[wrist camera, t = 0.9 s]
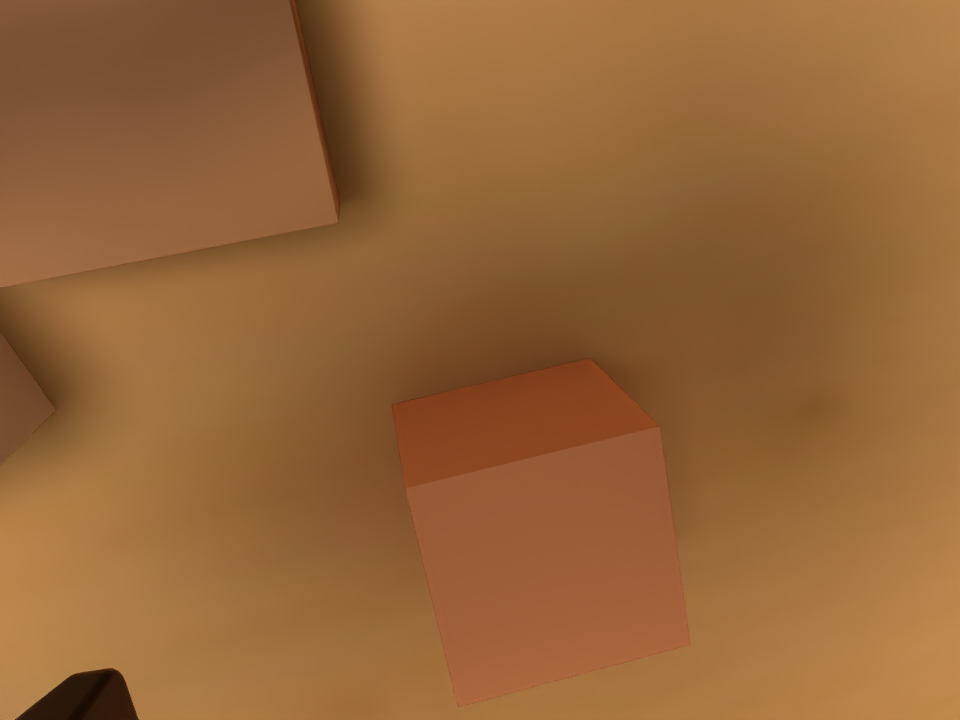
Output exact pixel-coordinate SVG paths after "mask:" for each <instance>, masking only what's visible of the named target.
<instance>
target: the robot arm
mask: <svg viewBox="0 0 960 720" xmlns="http://www.w3.org/2000/svg"><path fill="white" fill-rule="evenodd" d="M15 720H138V717H137V714H136V711H135V708H134V705H133V702H132V699H131V696H130V694H129V691H128V688H127V685H126V682H125V680H124V678H123V676H122V675H121V673H120V672H119V671H117V670H115V669H113V668H108V669H101V670H95V671H88V672H81V673H76V674H74V675H71V676H70V677H68V678H67V679H66V680H64V681H63V682H62V683H61V684H59V685H58V686H57V687H56V688H54V689H53V690H52V691H51V692H49V693H48V694H47V695H45V696H44V697H43V698H42V699H40V700H39V701H38V702H37V703H35V704H34V705H33V706H32V707H30V708H29V709H28V710H26V711H25V712H24V713H23V714H21V715H20V716H19V717H18V718H16V719H15Z"/></svg>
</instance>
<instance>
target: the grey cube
mask: <svg viewBox="0 0 960 720" xmlns="http://www.w3.org/2000/svg"><path fill="white" fill-rule="evenodd" d="M55 410H56V409H55V408H54V406H53V405H52V404H51V402H50V401H49V399H48V398H47V397H46V395H45V394H44V392H43V391H42V390H41V388H40V387H39V385H38V384H37V382H36V381H35V380H34V378H33V377H32V375H31V374H30V373H29V371H28V370H27V368H26V367H25V366H24V364H23V363H22V361H21V360H20V359H19V357H18V356H17V354H16V353H15V351H14V350H13V349H12V347H11V346H10V344H9V343H8V342H7V340H6V339H5V337H4V336H3V335H2V333H1V332H0V464H1V463H2V462H3V461H4V460H5V459H6V458H7V457H8V456H9V455H10V454H11V453H12V452H13V451H14V450H15V449H16V448H17V447H18V446H19V445H20V444H21V443H22V442H23V441H24V440H25V439H27V438H28V437H29V436H30V435H31V434H32V433H33V432H34V431H35V430H36V429H37V428H38V427H39V426H40V425H41V424H42V423H43V422H44V421H45V420H46V419H47V418H48V417H49V416H50V415H51V414H52V413H53V412H54V411H55Z"/></svg>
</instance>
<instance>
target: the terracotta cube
mask: <svg viewBox="0 0 960 720" xmlns="http://www.w3.org/2000/svg"><path fill="white" fill-rule="evenodd" d="M392 409H393V415H394V422H395V428H396V434H397V441H398V447H399V453H400V459H401V466H402V472H403V478H404V485H405V490H406V494H407V498H408V502H409V507H410V511H411V515H412V519H413V523H414V527H415V531H416V535H417V540H418V544H419V548H420V552H421V556H422V560H423V564H424V568H425V573H426V577H427V581H428V585H429V589H430V593H431V597H432V601H433V606H434V610H435V614H436V618H437V622H438V626H439V630H440V634H441V639H442V643H443V647H444V651H445V655H446V659H447V663H448V667H449V672H450V676H451V680H452V684H453V688H454V692H455V696H456V700H457V705H458V707H461V706H465V705H468V704H472V703H476V702H479V701H483V700H487V699H491V698H494V697H498V696H502V695H505V694H509V693H513V692H517V691H520V690H524V689H528V688H532V687H535V686H539V685H543V684H546V683H550V682H554V681H558V680H561V679H565V678H569V677H572V676H576V675H580V674H584V673H587V672H591V671H595V670H599V669H602V668H606V667H610V666H613V665H617V664H621V663H625V662H628V661H632V660H636V659H639V658H643V657H647V656H651V655H654V654H658V653H662V652H666V651H669V650H673V649H677V648H680V647H684V646H688V645H691V644H690V637H689V630H688V623H687V616H686V609H685V602H684V595H683V587H682V580H681V573H680V566H679V559H678V552H677V545H676V538H675V531H674V524H673V516H672V509H671V502H670V495H669V488H668V481H667V474H666V467H665V460H664V452H663V445H662V438H661V431H660V426H659V425H658V424H657V423H656V422H655V421H654V420H653V419H652V418H651V417H650V416H649V415H648V414H647V413H646V412H645V411H644V410H643V409H642V408H641V407H639V406H638V405H637V404H636V403H635V402H634V401H633V400H632V399H631V398H630V397H629V396H628V395H627V394H626V393H625V392H624V391H623V390H622V389H621V388H620V387H619V386H618V385H617V384H616V383H615V382H614V381H613V380H612V379H611V378H610V377H609V376H608V375H607V374H606V373H605V372H604V371H603V370H602V369H601V368H600V367H598V366H597V365H596V364H595V363H594V362H593V361H592V360H591V359H590V358H589V359H585V360H581V361H576V362H572V363H568V364H563V365H559V366H555V367H551V368H546V369H542V370H538V371H534V372H529V373H525V374H521V375H517V376H512V377H508V378H504V379H500V380H495V381H491V382H487V383H482V384H478V385H474V386H470V387H465V388H461V389H457V390H453V391H448V392H444V393H440V394H436V395H431V396H427V397H423V398H418V399H414V400H410V401H406V402H401V403H397V404H393V405H392Z"/></svg>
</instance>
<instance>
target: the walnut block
mask: <svg viewBox="0 0 960 720" xmlns="http://www.w3.org/2000/svg"><path fill="white" fill-rule="evenodd" d="M339 211H340V201H339V196H338V192H337V187H336V182H335V178H334V173H333V169H332V164H331V160H330V155H329V150H328V146H327V141H326V137H325V132H324V128H323V123H322V119H321V114H320V109H319V105H318V100H317V96H316V91H315V87H314V82H313V78H312V73H311V68H310V64H309V59H308V55H307V50H306V46H305V41H304V36H303V32H302V27H301V23H300V18H299V14H298V9H297V5H296V0H0V288H2V287H7V286H12V285H17V284H22V283H28V282H33V281H38V280H43V279H49V278H54V277H59V276H64V275H69V274H75V273H80V272H85V271H90V270H95V269H101V268H106V267H111V266H116V265H121V264H127V263H132V262H137V261H142V260H147V259H153V258H158V257H163V256H168V255H174V254H179V253H184V252H189V251H194V250H200V249H205V248H210V247H215V246H220V245H226V244H231V243H236V242H241V241H246V240H252V239H257V238H262V237H267V236H272V235H278V234H283V233H288V232H293V231H299V230H304V229H309V228H314V227H319V226H325V225H330V224H335V223H338V222H339Z"/></svg>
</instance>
